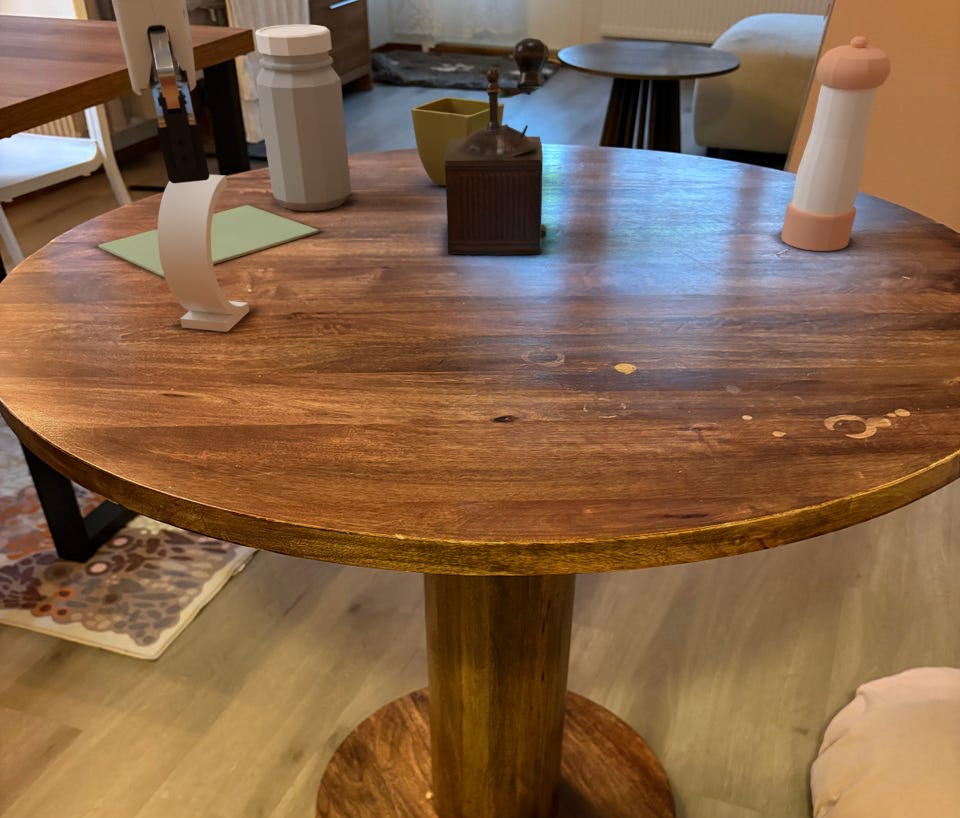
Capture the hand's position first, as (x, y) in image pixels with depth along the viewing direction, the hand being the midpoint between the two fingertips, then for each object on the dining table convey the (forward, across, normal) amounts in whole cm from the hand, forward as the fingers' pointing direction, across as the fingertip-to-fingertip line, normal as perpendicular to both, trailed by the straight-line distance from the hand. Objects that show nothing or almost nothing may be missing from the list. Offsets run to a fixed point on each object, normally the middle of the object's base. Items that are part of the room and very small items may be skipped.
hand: (187, 165), depth 77 cm
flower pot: (+14, -37, +33) cm, 52 cm away
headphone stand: (+14, 0, -1) cm, 14 cm away
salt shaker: (+15, -4, +66) cm, 67 cm away
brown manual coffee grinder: (+14, -17, +32) cm, 39 cm away
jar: (+14, -35, +14) cm, 40 cm away
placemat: (+14, -24, +1) cm, 27 cm away
